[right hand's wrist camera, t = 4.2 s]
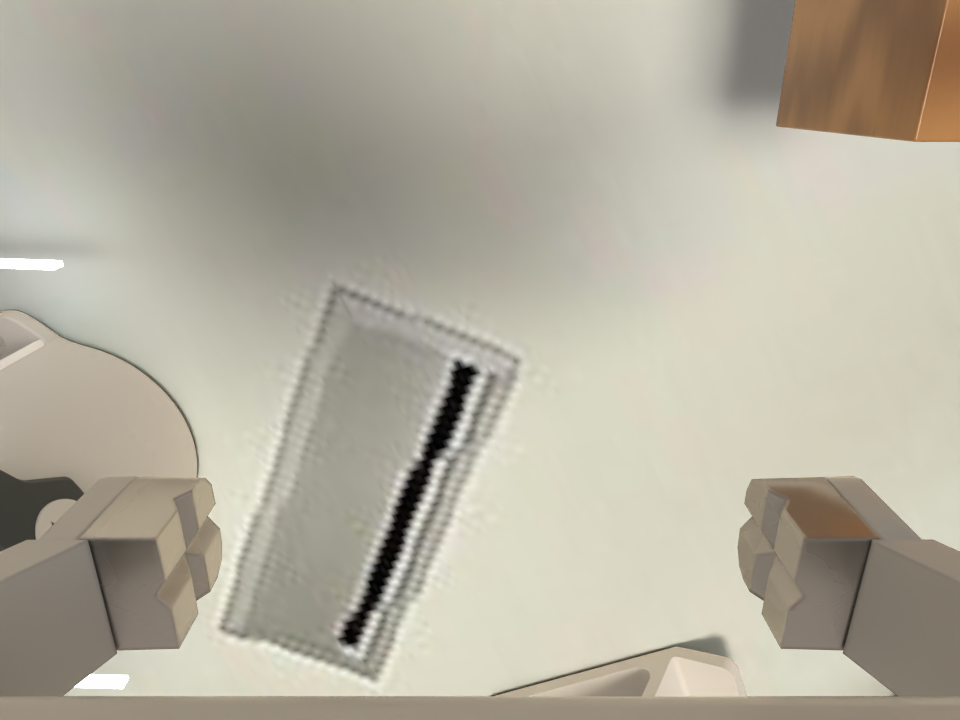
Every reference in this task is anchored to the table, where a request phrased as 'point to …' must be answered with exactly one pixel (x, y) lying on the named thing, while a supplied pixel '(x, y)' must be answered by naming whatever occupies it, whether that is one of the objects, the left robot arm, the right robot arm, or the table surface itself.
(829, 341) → the table surface
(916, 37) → the bar
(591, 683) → the tablet stand
